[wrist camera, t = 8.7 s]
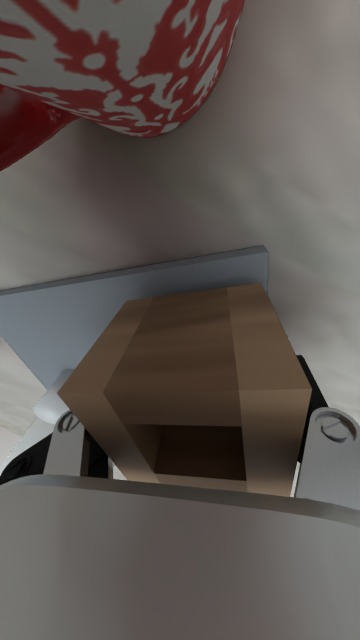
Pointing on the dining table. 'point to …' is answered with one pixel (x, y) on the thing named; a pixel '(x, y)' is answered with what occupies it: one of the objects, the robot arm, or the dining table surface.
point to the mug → (107, 65)
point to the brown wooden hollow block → (196, 392)
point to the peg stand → (104, 310)
